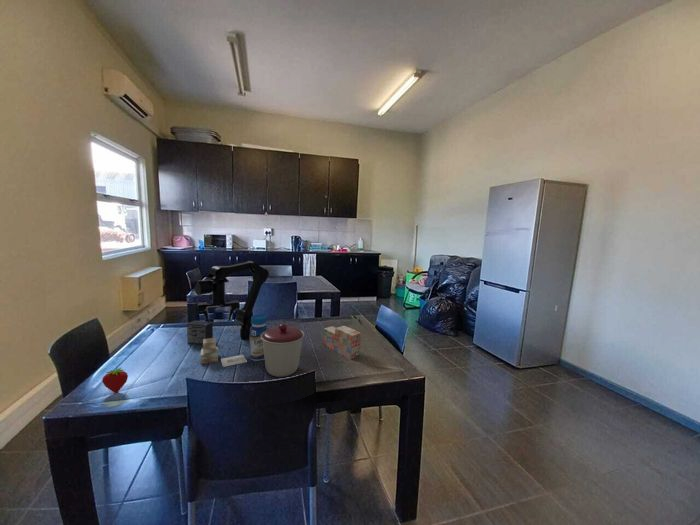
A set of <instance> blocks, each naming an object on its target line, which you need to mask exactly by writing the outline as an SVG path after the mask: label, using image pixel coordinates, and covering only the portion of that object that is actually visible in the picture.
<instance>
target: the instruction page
mask: <svg viewBox="0 0 700 525" xmlns="http://www.w3.org/2000/svg"><path fill="white" fill-rule="evenodd" d="M220 361H221V362H220V363H221V365H222V367H223V368H225V367H229V366H235V365H240V364H245V363H247V362H248V361H247V359H246V357H245V355H244V354H239V355H235V356H234V355H233V356H229V357H223V358H220Z"/></svg>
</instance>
